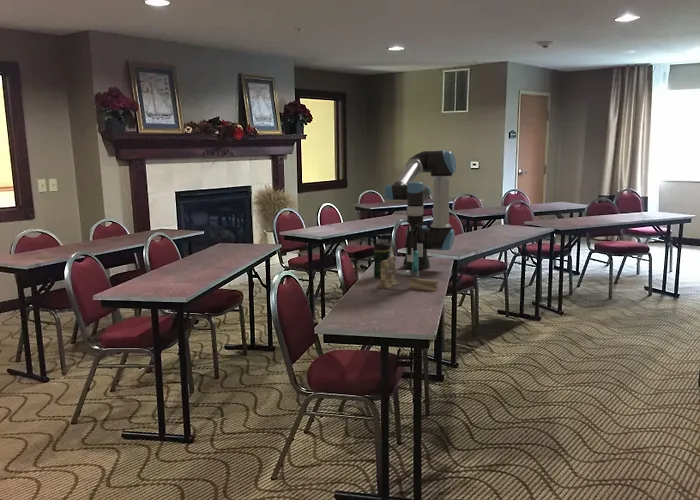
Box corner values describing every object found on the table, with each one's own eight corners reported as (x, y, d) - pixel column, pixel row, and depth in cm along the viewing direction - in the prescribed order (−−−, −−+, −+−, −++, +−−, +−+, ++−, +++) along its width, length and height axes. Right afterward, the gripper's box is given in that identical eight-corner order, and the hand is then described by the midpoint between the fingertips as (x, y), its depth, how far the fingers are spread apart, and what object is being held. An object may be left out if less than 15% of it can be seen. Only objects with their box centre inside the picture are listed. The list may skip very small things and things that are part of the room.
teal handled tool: (385, 274, 289) (385, 248, 287) (419, 277, 281) (419, 250, 279) (383, 276, 286) (383, 249, 284) (416, 279, 278) (417, 252, 276)
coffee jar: (386, 279, 300) (386, 243, 297) (372, 278, 303) (372, 243, 300) (392, 275, 309) (392, 240, 306) (378, 274, 312) (378, 240, 308)
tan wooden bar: (412, 286, 283) (412, 277, 283) (437, 289, 278) (437, 280, 277) (409, 288, 281) (410, 279, 280) (435, 290, 275) (435, 281, 274)
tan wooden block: (388, 281, 295) (388, 256, 293) (399, 282, 292) (399, 257, 290) (376, 287, 283) (376, 261, 280) (388, 288, 280) (388, 262, 278)
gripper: (416, 212, 288) (416, 254, 291) (398, 217, 266) (397, 262, 269) (431, 212, 284) (430, 255, 288) (413, 218, 262) (413, 264, 266)
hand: (414, 259), depth 278 cm, fingers open, 13 cm apart
